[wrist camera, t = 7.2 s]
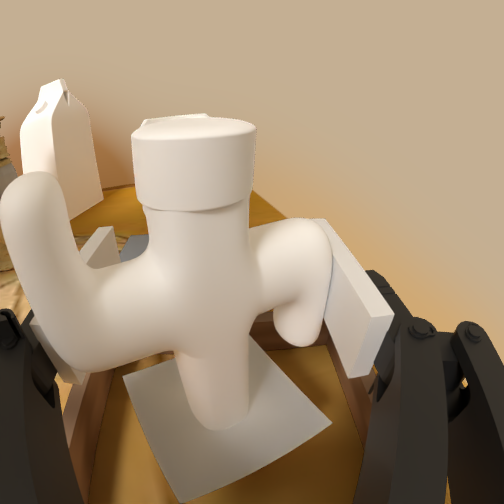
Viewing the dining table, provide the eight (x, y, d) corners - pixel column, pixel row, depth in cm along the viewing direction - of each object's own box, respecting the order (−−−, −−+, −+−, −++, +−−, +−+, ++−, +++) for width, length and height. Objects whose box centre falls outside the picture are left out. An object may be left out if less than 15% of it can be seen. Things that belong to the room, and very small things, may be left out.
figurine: (332, 440, 13) (437, 137, 6) (175, 522, 8) (-91, 212, 1) (259, 362, 18) (267, 110, 11) (125, 416, 14) (21, 144, 6)
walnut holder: (411, 546, 6) (440, 539, 5) (68, 558, 5) (37, 552, 3) (334, 334, 22) (341, 305, 21) (111, 342, 21) (100, 315, 19)
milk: (103, 199, 53) (92, 74, 40) (67, 222, 43) (49, 75, 30) (66, 199, 55) (53, 88, 42) (31, 220, 45) (13, 94, 32)
